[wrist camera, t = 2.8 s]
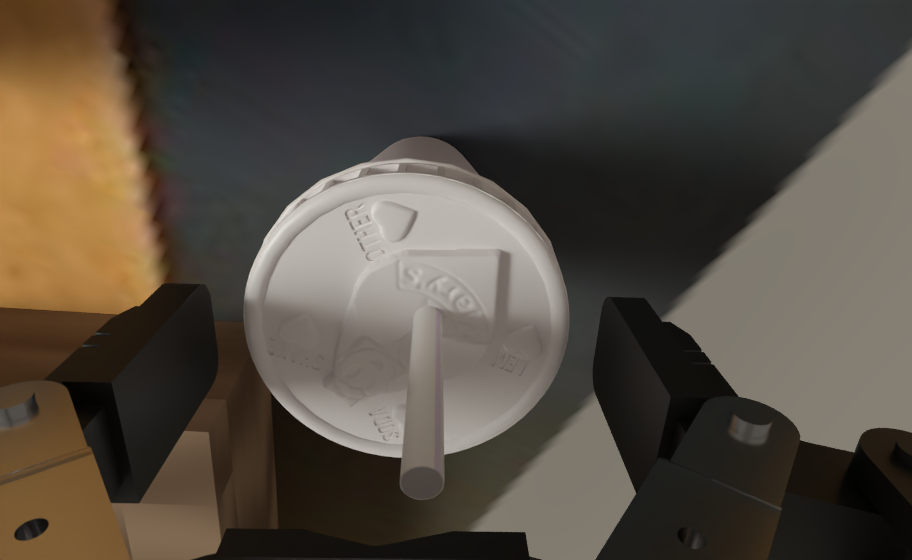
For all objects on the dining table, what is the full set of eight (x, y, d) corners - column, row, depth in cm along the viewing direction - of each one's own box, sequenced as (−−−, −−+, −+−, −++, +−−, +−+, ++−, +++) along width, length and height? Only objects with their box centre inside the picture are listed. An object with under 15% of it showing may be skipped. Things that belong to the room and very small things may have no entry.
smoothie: (553, 192, 20) (744, 505, 8) (422, 309, 22) (398, 721, 9) (420, 48, 18) (376, 147, 6) (287, 190, 20) (22, 509, 7)
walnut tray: (-120, 296, 22) (-329, 405, 16) (268, 319, 22) (208, 432, 17) (-23, 565, 28) (-148, 718, 22) (283, 576, 28) (242, 726, 22)
